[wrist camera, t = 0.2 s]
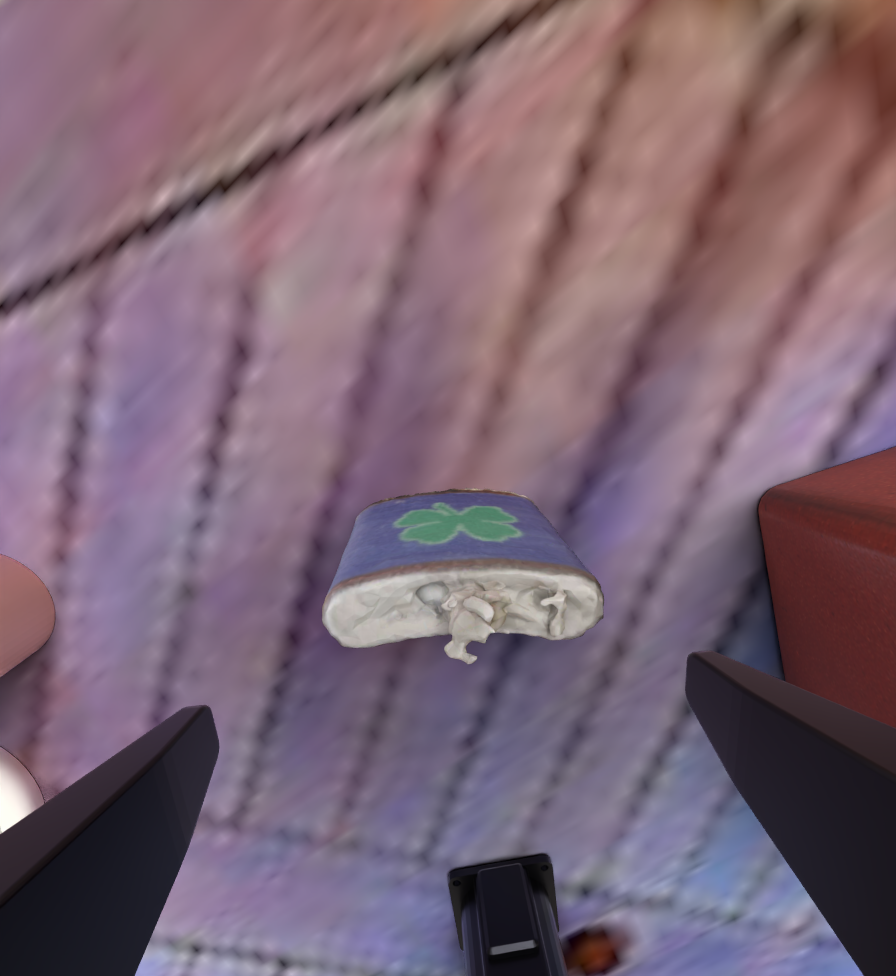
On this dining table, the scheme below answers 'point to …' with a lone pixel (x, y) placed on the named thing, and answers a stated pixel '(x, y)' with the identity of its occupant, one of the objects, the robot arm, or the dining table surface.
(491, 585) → the flask
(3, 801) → the round white dish
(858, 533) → the plant pot
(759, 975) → the dining table surface
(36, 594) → the peach domed cylinder
